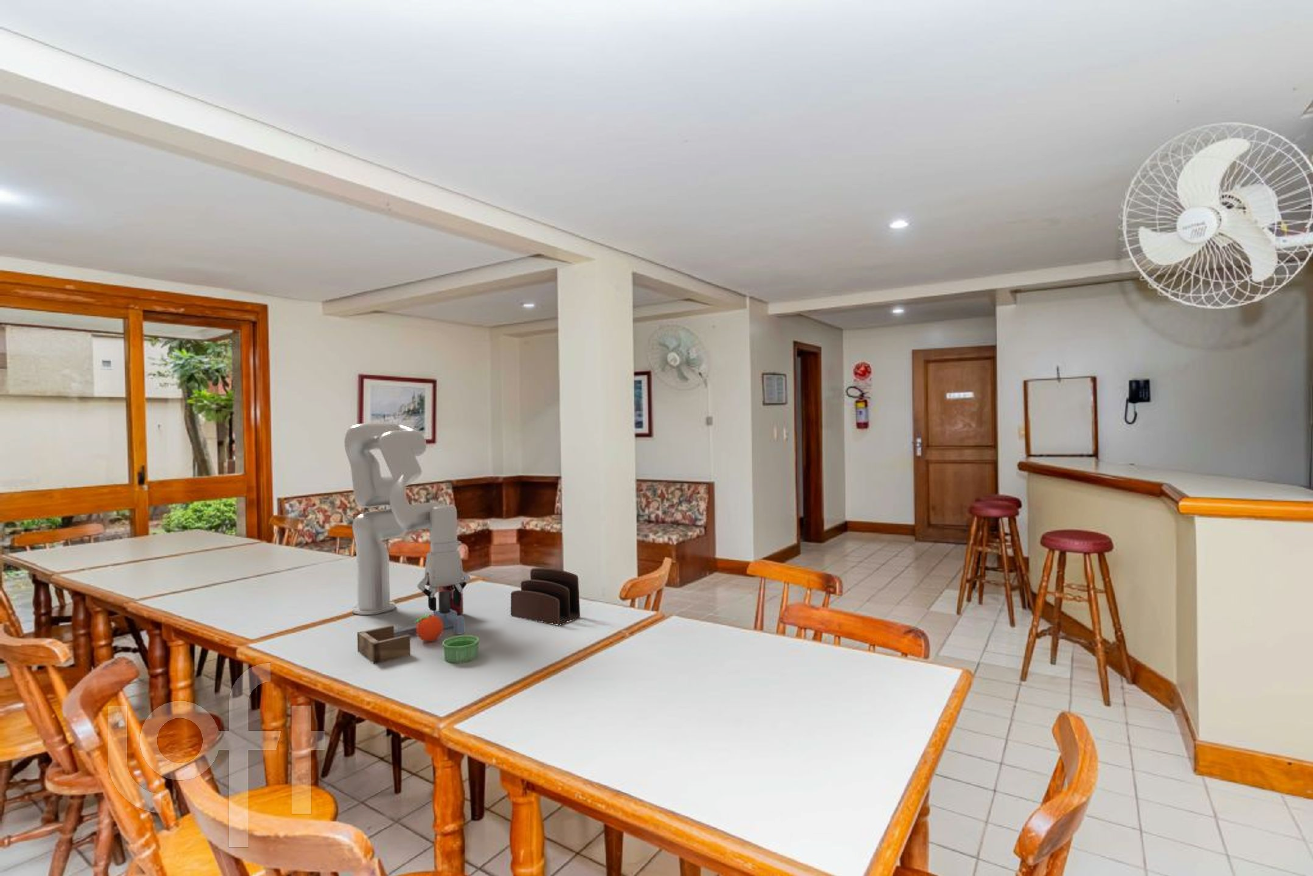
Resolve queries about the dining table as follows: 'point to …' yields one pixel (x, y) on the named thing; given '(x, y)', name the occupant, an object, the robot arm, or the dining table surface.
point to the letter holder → (547, 596)
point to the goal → (382, 644)
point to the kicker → (449, 613)
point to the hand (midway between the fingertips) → (444, 607)
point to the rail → (405, 631)
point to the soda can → (456, 608)
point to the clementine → (429, 628)
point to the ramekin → (460, 648)
